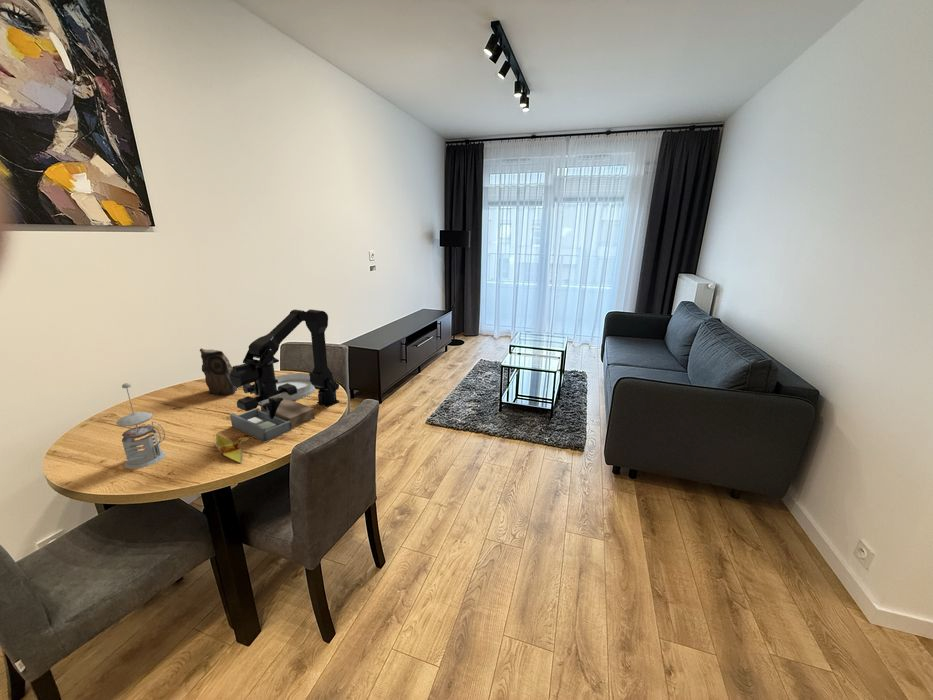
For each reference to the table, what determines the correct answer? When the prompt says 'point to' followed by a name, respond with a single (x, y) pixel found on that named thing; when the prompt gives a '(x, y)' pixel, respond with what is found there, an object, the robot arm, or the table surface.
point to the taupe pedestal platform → (294, 412)
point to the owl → (217, 372)
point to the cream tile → (256, 420)
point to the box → (259, 431)
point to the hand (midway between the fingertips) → (271, 418)
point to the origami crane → (230, 447)
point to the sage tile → (267, 425)
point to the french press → (129, 443)
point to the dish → (299, 381)
